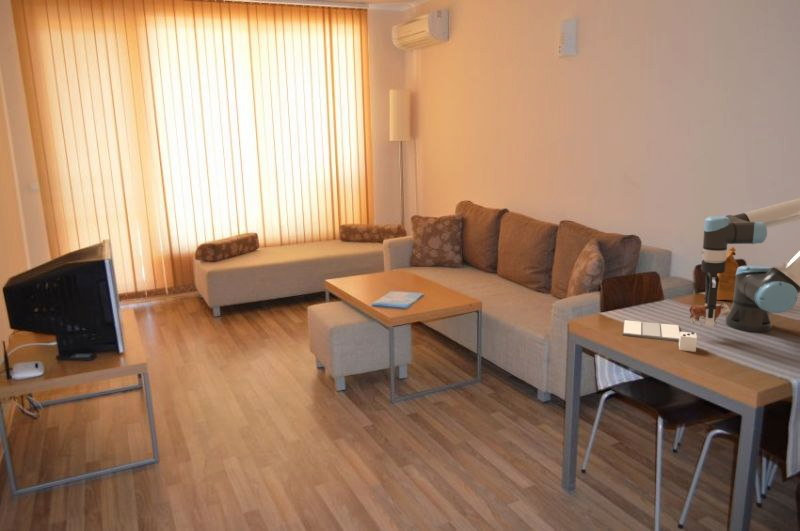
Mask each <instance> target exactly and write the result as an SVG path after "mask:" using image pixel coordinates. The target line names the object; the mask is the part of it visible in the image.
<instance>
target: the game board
mask: <svg viewBox="0 0 800 531" xmlns="http://www.w3.org/2000/svg"><path fill="white" fill-rule="evenodd" d="M622 326H623V328H622V336H627V337H635V338H643V339H644V338H646V339H655V340H665V341H674V342H679V336H680V332H681V330H680V325H679V324H677V325H676V324H669V323H668V324H667V323H657V322H655V323H654V322H647V321H646V322H645V321H636V320H626V319H625V320H623V325H622Z"/></svg>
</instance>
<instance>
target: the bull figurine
mask: <svg viewBox="0 0 800 531" xmlns="http://www.w3.org/2000/svg"><path fill="white" fill-rule="evenodd" d="M705 307H707V306H705V304H704V305H700V304H699V305H698V304H696V305H695V304H693V305H691V306H690V307H689V313H690V315H689V318H690V322H691V324H695V323H697V325H698V326H701V327H702V326H703V324H702V323H701V321H700V319H701V318H702V319H703V320H704V319H705V318H706V309H705ZM729 312H731V310H730V307H729V305H727V303H722V304H721V303H716V309H715V316H714V327H716V325H717V322H716V320H717V319H718V318H719V317H721V316H722V315H723V314H726V313H727V314H728V313H729Z"/></svg>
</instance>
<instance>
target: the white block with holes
mask: <svg viewBox="0 0 800 531" xmlns="http://www.w3.org/2000/svg"><path fill="white" fill-rule="evenodd" d="M697 336H698V335H697V333H696V332H693V331H692V332H687V331H680V336H679V341H678V349H679V351H687V352H694V353H695V352H697V343H698V337H697Z"/></svg>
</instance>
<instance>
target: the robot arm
mask: <svg viewBox="0 0 800 531" xmlns="http://www.w3.org/2000/svg"><path fill="white" fill-rule="evenodd" d="M797 221H800V197H798V198H796V199H792V200H791V199H790V200H788V201H787V200H786V201H783V202H779V203H776V204H772V205H768V206H765V207H761V208H757V209H754V210H753V209H752V210H750V211H749V210H748V211H747V212H743V213H739V214H734V215H732V214H724V215H722V216H721V215H719V216H718V215H712V216H711V215H710V216H708V217H706V218H705V220H704V225H703V226H704V227H703V242H702V250H700V254H701V256H702V257H701V259H702V260H701V267H700V270H701V271H702V272H704V273H706V275H705V278H704V279H705V292H704V303H705V304H704V306H707V307H705V309H706V318H705V319H703V322H705V323H704V326H705V327H713V328H714V327H715V326H714V316H715V309H716V304H717V301H718V300H717V289H718V284H719V283H718V282H719V278H718V276H717V274H718V273H723V272H725V265H726V263H725V260H726V256H727V254H728V245H737V244H738V245H743V244H744V245H749V244H750V245H751V244H752V245H756V244H763V243H764V242H766V241H765V240H766V239H767V236H768V229H769V228H773V227H776V226H781V225H786V224H789V223H793V222H797ZM799 293H800V248H799V249H797V250H796V251H795V252H794V253H793V254H792V255H791V256H790V257H789V258H788V259H786V260H785V262H784V263H783V264H781V265H779V266H773V267H770V266H764V265H762V266H761V265H741V266H739V267H738V269H737V272H736V279H735V289H734V298H733V301H732V304H731V307H729V309H730V310H731V312H729V313H728V312H727V314H726V316H725V324H726V325H727V326H729V327H730V328H732V329H733V328H734V329H737V330H741V331H745V332H746V331H747V332H757V333H761V332H768V331H770V330H771V329H772V323H773V322H772V318H771V315H770V314H782V313H786V312H789V311H790V310H791V309H793V307H794V306H795V305H796V304H797V302H798V297H799V295H798V294H799Z"/></svg>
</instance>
